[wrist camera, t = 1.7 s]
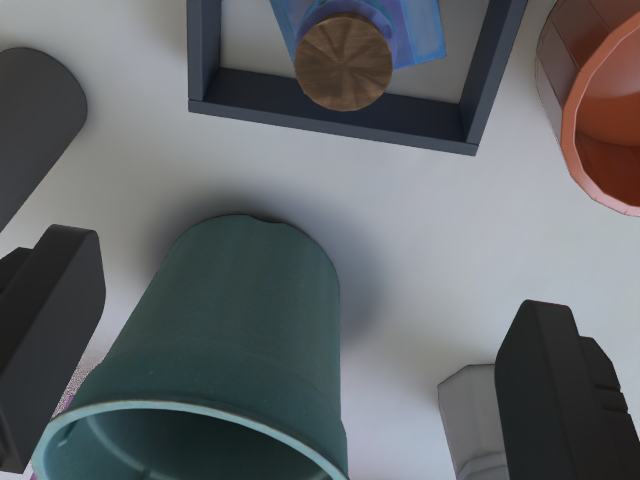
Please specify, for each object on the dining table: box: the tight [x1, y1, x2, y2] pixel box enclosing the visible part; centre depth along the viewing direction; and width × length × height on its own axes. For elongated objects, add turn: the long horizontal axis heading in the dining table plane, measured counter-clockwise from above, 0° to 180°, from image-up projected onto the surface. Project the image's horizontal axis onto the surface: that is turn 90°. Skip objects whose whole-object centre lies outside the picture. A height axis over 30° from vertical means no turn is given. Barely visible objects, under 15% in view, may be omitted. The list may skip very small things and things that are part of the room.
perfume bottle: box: [270, 0, 447, 111], centre depth 24 cm, size 6×6×12 cm
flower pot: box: [31, 215, 350, 480], centre depth 37 cm, size 16×16×16 cm
